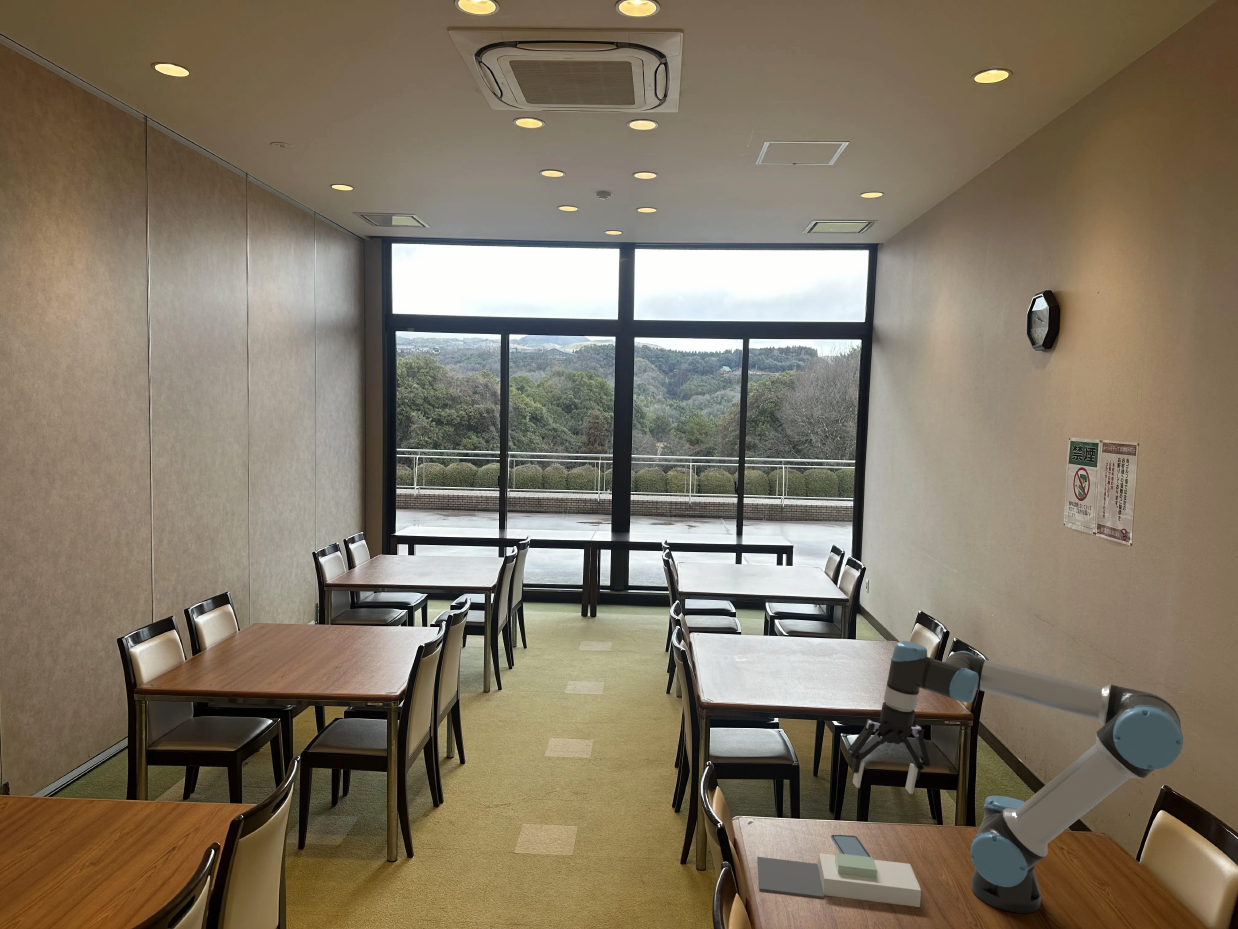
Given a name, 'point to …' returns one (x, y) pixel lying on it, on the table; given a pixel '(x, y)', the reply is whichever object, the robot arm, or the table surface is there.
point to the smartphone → (849, 845)
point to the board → (871, 883)
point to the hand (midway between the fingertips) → (882, 788)
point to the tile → (855, 865)
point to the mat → (789, 877)
